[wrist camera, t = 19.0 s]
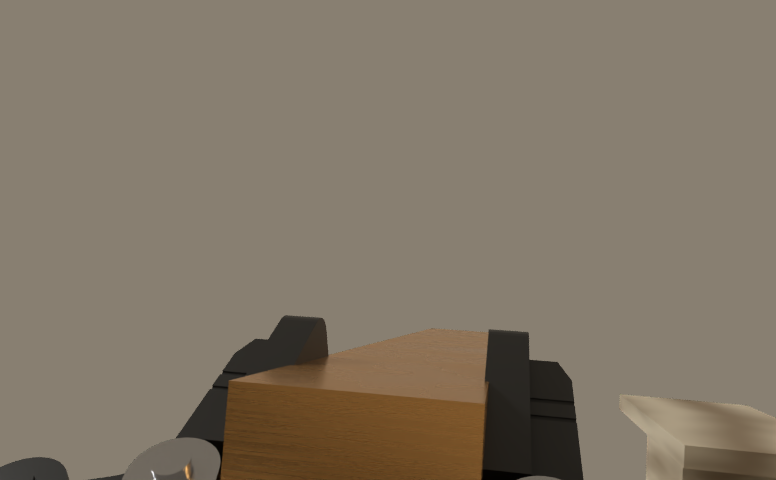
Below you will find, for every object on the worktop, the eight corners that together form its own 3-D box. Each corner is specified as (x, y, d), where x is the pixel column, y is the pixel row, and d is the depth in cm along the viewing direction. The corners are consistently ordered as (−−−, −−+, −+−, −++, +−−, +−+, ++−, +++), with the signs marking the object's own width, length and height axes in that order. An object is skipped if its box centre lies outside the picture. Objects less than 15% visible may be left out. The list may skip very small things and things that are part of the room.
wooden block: (206, 647, 8) (228, 381, 8) (427, 395, 31) (431, 328, 32) (470, 692, 7) (484, 403, 8) (494, 401, 31) (497, 333, 31)
